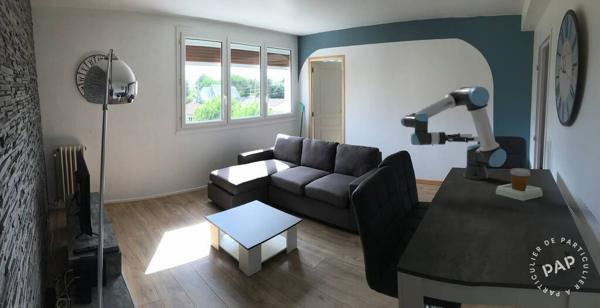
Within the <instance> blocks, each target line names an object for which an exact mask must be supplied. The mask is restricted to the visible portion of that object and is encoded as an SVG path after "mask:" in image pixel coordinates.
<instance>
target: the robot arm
mask: <svg viewBox="0 0 600 308" xmlns="http://www.w3.org/2000/svg"><path fill="white" fill-rule="evenodd" d="M489 101H490V92H489V90H487V88H485V87H483V86H478V85H475V86H465V87H464V86H463V87H460V88H458V89H455V90H453V91H451V92H450V93H447V94H445V96H444V97H443V98H440V99H438V100H436V101H434V102H433V103H430V104H429V105H426V106H425V107H422V108H421V109H419V110H417V111H415V112H411V114H410V113H409V114H405V115H402V116H401V118H400V125H402V126H403V127H405V128H412V129H414V132H412V133H411V134H410V144H411V145H413V146H431V145H432V147H433V146H435V145H437V146H438V145H439V146H440V145H441V146H442V145H446V143H447V142H448V143H452V142H454V143H458V142H459V143H467V144H468V143H469V142H479V144H478V143H477V144H469V145H467V149H466V166H465V169H464V172H463V175H462V176H463V178H465V179H468V180H478V181H479V180H482V181H483V180H487V179H488V178H489V174H488V170H487V167H486V166H489V167H495V168H500V167H501V166H503V164H504V163H505V161H506V160H507V152H506V151H505V150H504V149H503V148H501V146H500V144H499V143H498V142H496V139H495V135H494V133H493V128H492V125H491V122H490V118H489V115H488V112H487V107H488V106H489V105H488V103H489ZM461 106H463V107H464V106H465V107H466V109H467V111H468V112H470V115H471V117H472V120H473V124H474V127H475V131H476V134H477V136H473V133H462V134H461V133H460V132H458V133H455V134H453V133H452V134H446V132H444V131H438V132H437V131H434V132H433V131H430V132H428V131H429V130H428V129H429V128H428V127H429V119H430V118H432V117H435V116H436V115H438V114H441V113H442V112H445V111H446V110H448V109H453V108H456V107H461Z"/></svg>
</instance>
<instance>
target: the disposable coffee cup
mask: <svg viewBox="0 0 600 308" xmlns="http://www.w3.org/2000/svg"><path fill="white" fill-rule="evenodd" d="M509 172H510V181H511V183H510V184H512V189H514V190H518V191H522V192H523V191H525V190H526V186H527V185H528V182H529V178H530V176H531V171H530V169H527V168H521V167H515V168H511V169H510V171H509Z"/></svg>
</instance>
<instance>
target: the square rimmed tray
mask: <svg viewBox="0 0 600 308" xmlns="http://www.w3.org/2000/svg"><path fill="white" fill-rule="evenodd" d="M543 192H544V191H543V190H542V188H541V187H536V186H533V185H528V184H527V186H526V190H525V191H523V192H522V191H518V190H514V189H512V184H511V183H508V184H503V185H497V188H495V194H496V195H499V196H502V197H503V196H504V197H507V198H511V199H515V200H519V201H522V202H523V201H528V200H532V199H537V198H539V197H540V198H541V197H543Z"/></svg>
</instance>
